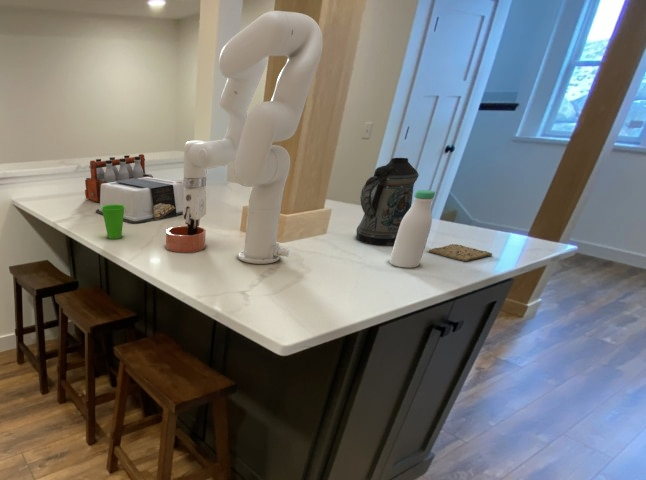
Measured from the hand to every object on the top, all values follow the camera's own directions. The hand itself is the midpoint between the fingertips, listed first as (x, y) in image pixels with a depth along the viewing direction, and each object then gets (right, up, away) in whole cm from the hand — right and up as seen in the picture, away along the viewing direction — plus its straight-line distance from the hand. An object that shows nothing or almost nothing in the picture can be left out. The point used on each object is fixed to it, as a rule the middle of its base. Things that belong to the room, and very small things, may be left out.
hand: (192, 238), depth 158 cm
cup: (-28, +4, +11) cm, 31 cm away
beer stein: (+63, -3, -7) cm, 63 cm away
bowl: (-3, -4, -4) cm, 6 cm away
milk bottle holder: (-28, +48, +78) cm, 96 cm away
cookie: (+79, -12, -22) cm, 83 cm away
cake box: (-17, +27, +46) cm, 56 cm away
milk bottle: (+58, -17, -28) cm, 67 cm away
